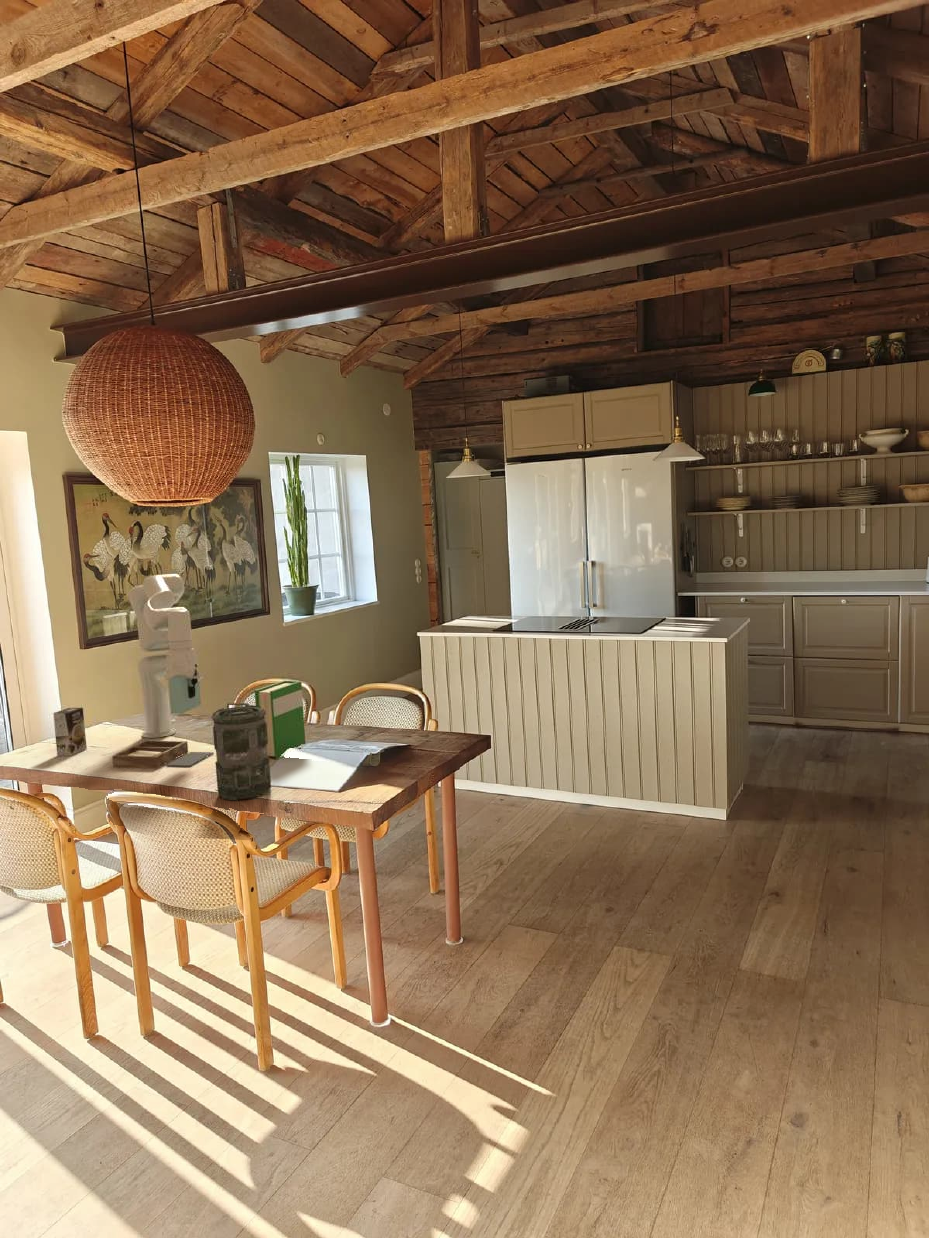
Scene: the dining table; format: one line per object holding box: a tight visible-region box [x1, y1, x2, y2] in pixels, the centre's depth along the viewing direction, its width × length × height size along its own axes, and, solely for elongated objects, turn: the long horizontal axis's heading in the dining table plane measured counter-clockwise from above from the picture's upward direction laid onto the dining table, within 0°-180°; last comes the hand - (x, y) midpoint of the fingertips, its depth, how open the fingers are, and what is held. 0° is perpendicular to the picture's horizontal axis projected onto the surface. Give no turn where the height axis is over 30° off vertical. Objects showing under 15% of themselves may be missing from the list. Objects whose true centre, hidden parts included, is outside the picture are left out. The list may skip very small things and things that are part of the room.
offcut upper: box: [127, 750, 162, 756], centre depth 303 cm, size 6×10×2 cm, turn 68°
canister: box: [211, 702, 272, 801], centre depth 263 cm, size 16×16×28 cm
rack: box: [111, 740, 189, 770], centre depth 306 cm, size 20×17×4 cm
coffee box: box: [52, 707, 87, 757], centre depth 320 cm, size 9×6×16 cm
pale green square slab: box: [167, 676, 202, 714], centre depth 301 cm, size 4×12×12 cm, turn 167°
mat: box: [165, 751, 214, 768], centre depth 304 cm, size 16×9×1 cm, turn 167°
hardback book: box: [254, 679, 306, 759], centre depth 308 cm, size 18×7×24 cm, turn 157°
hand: (185, 696), depth 301 cm, fingers closed on pale green square slab, 4 cm apart
